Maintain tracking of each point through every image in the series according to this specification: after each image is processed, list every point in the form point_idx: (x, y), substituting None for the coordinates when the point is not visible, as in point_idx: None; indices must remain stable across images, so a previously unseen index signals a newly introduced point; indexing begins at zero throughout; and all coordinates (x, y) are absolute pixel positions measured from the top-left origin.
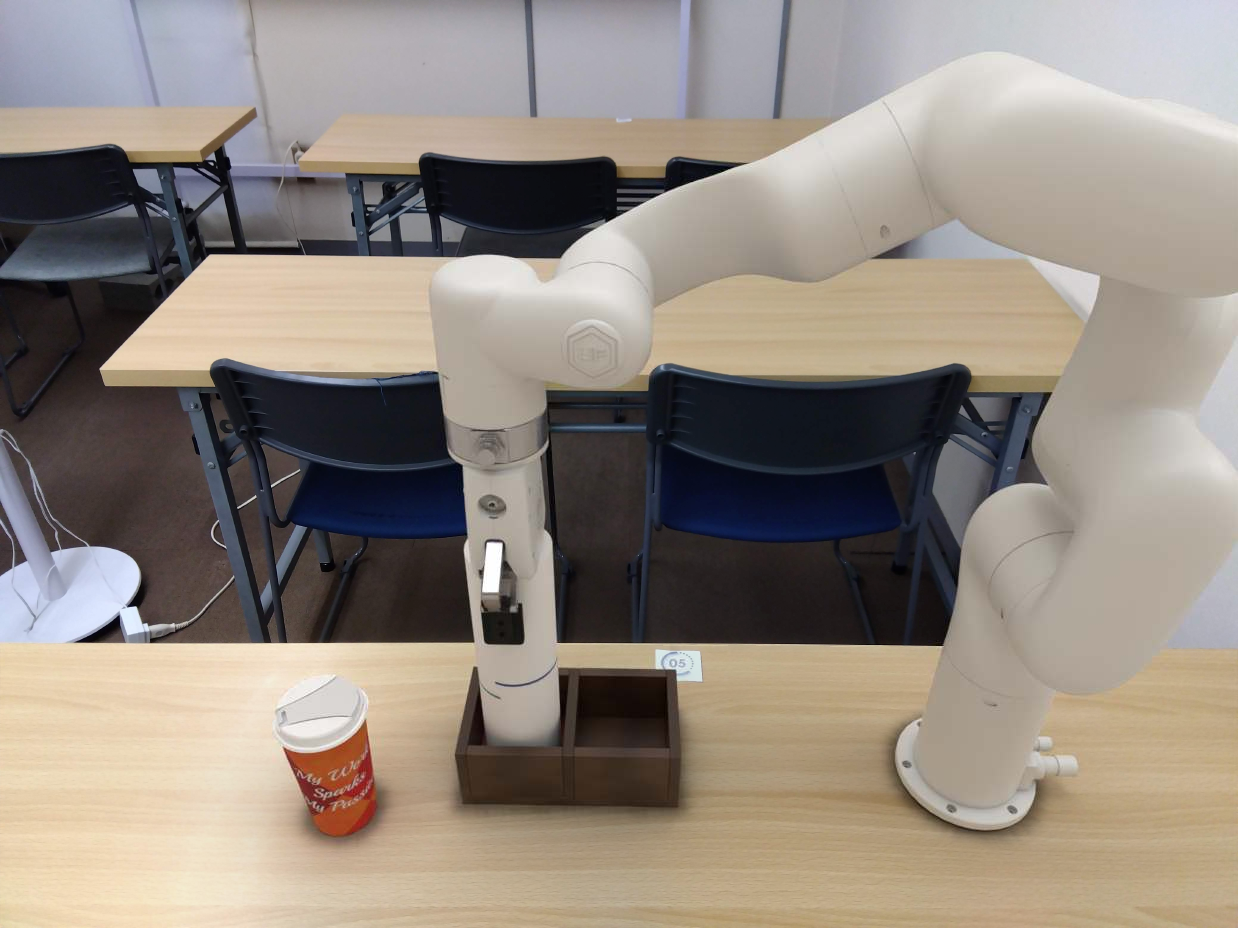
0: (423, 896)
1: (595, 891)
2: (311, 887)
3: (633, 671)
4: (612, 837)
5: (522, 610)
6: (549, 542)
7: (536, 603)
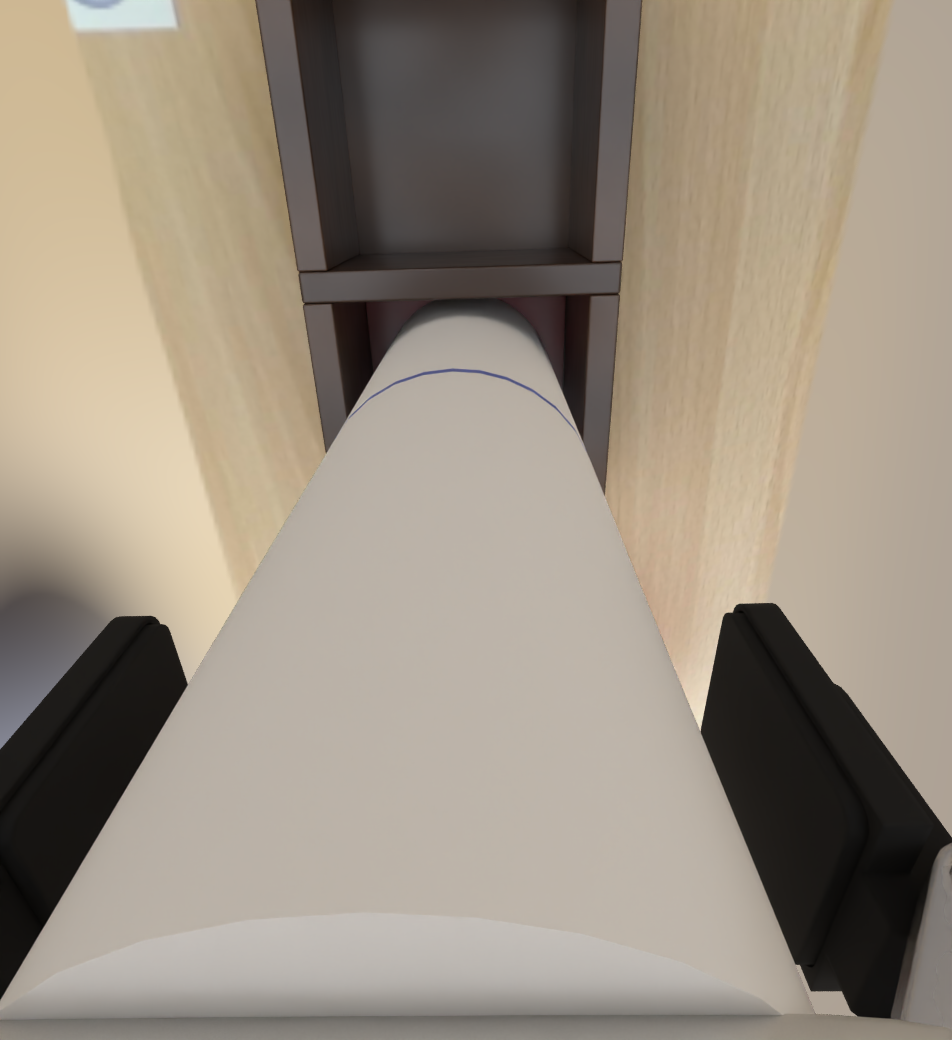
0: (750, 499)
1: (797, 178)
2: (710, 647)
3: (280, 71)
4: (674, 144)
5: (865, 772)
6: (279, 936)
7: (651, 645)
